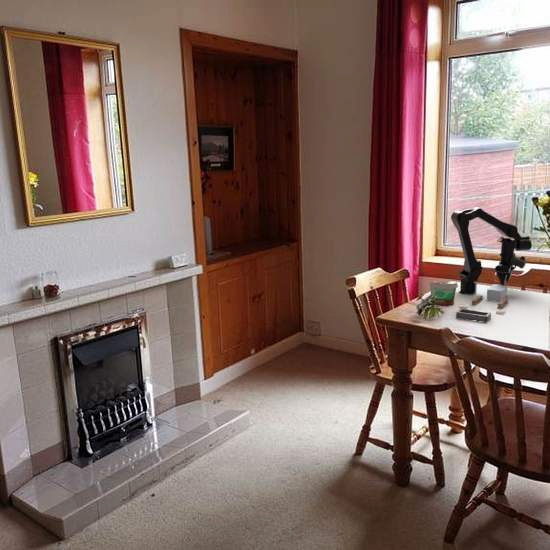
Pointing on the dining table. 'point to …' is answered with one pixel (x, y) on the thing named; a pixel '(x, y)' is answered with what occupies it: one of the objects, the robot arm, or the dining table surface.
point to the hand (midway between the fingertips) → (505, 283)
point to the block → (497, 292)
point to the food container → (443, 293)
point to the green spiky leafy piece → (432, 309)
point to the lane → (500, 304)
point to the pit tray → (473, 315)
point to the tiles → (496, 311)
